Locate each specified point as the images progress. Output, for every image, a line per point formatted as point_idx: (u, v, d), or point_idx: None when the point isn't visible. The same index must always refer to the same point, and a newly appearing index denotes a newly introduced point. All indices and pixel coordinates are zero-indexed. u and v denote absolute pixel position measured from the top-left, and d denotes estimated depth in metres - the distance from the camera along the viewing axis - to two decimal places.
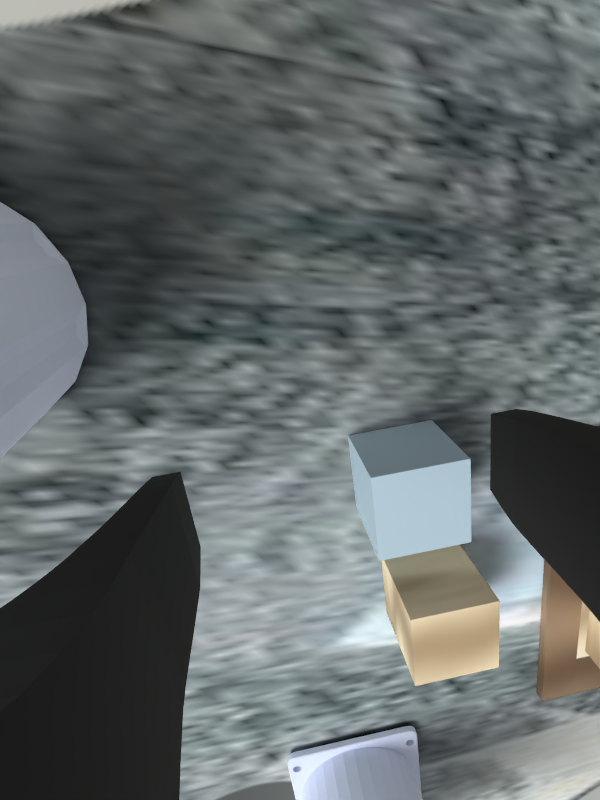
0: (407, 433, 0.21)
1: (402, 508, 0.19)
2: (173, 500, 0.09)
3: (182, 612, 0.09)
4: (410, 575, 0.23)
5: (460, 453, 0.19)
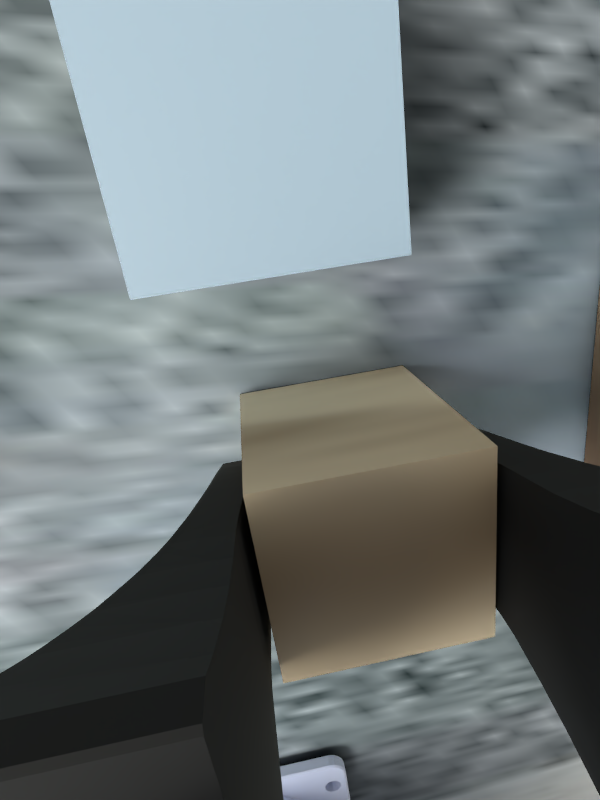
0: None
1: (176, 92, 0.06)
2: None
3: (263, 595, 0.09)
4: (284, 419, 0.10)
5: None
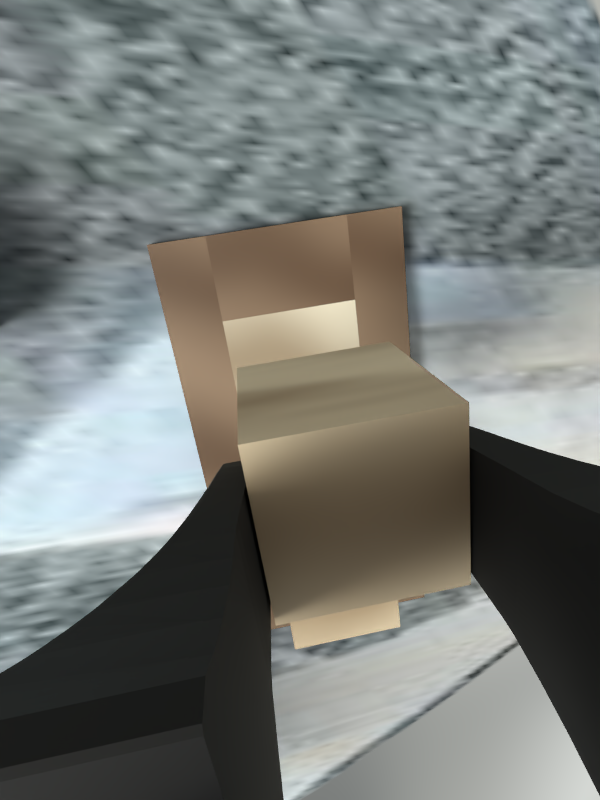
0: None
1: None
2: None
3: (263, 595, 0.09)
4: (276, 386, 0.10)
5: None
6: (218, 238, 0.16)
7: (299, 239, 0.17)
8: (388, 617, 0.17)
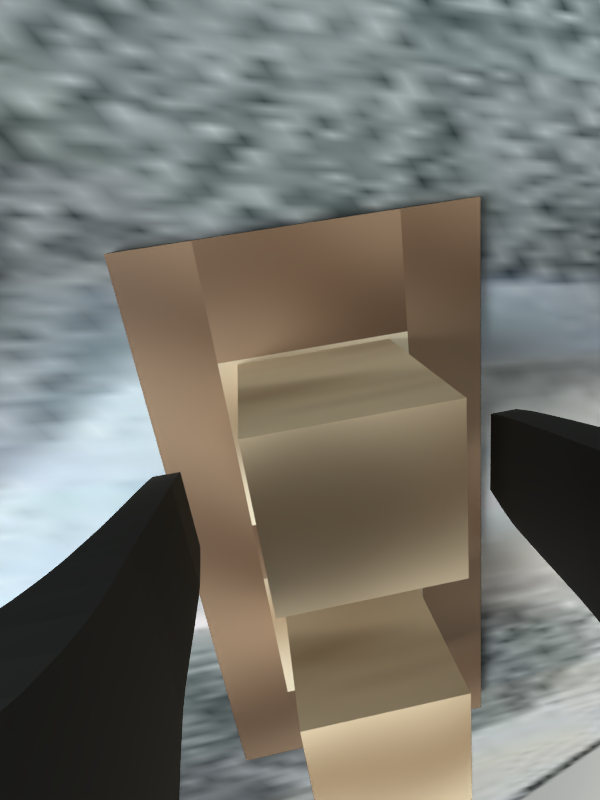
0: None
1: None
2: (173, 500, 0.09)
3: (182, 612, 0.09)
4: (277, 383, 0.10)
5: None
6: (211, 244, 0.11)
7: (329, 245, 0.12)
8: (456, 789, 0.12)
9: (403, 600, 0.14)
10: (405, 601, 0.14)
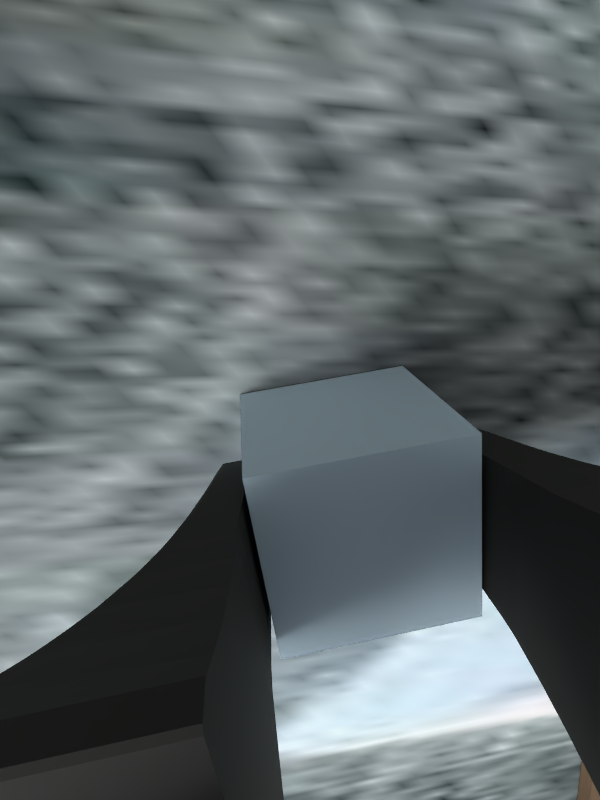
0: (352, 389, 0.11)
1: (327, 548, 0.08)
2: None
3: (263, 595, 0.09)
4: None
5: (458, 422, 0.08)
6: None
7: None
8: None
9: None
10: None
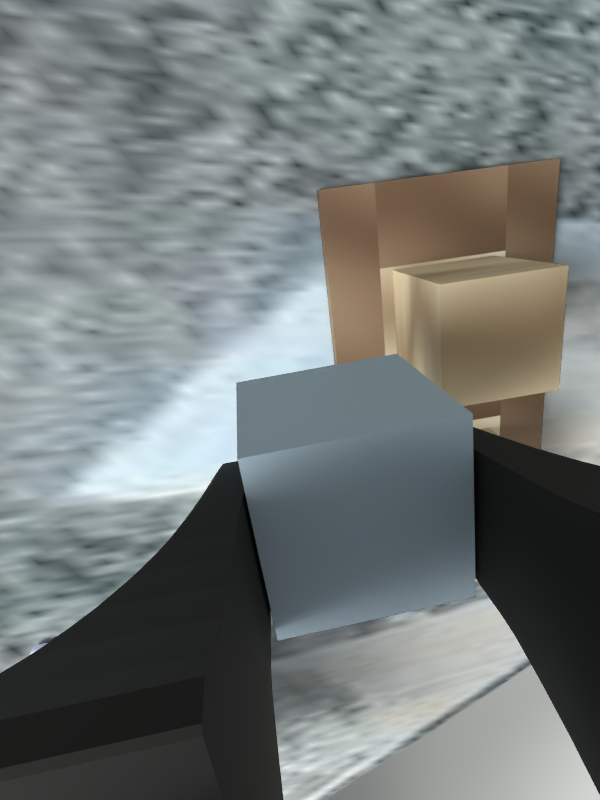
0: (347, 375, 0.11)
1: (321, 528, 0.08)
2: None
3: (263, 595, 0.09)
4: (434, 271, 0.16)
5: (449, 404, 0.08)
6: (386, 185, 0.17)
7: (459, 188, 0.17)
8: None
9: None
10: None
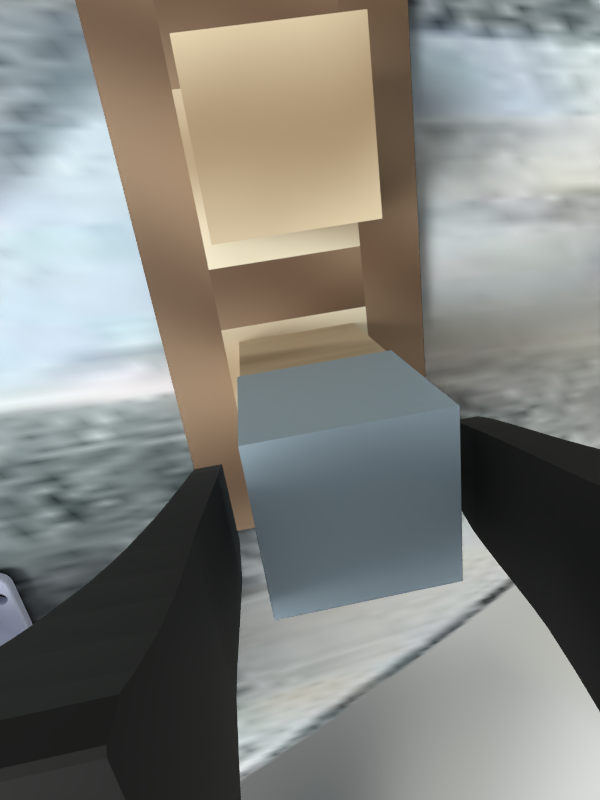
0: (343, 370, 0.11)
1: (317, 513, 0.09)
2: (219, 491, 0.09)
3: (231, 601, 0.09)
4: None
5: (438, 397, 0.09)
6: None
7: None
8: None
9: (346, 334, 0.15)
10: (348, 334, 0.15)
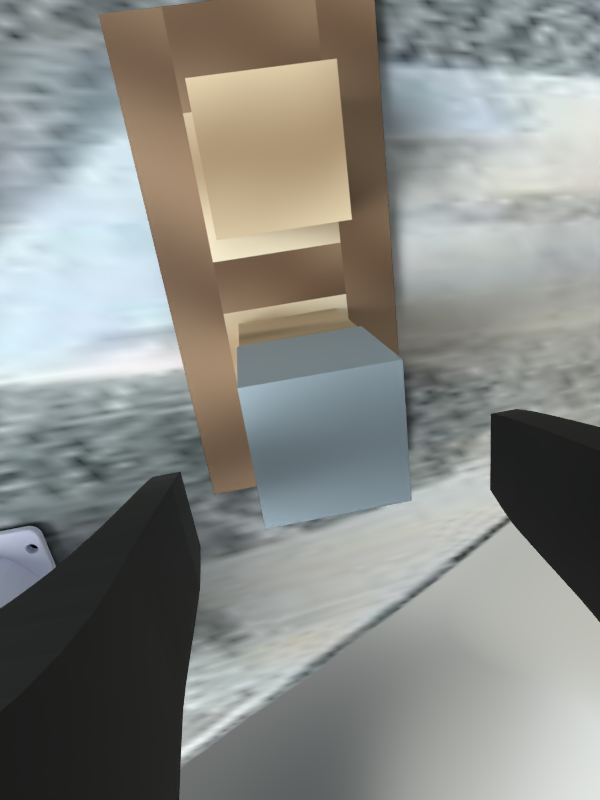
0: (320, 340, 0.14)
1: (296, 442, 0.12)
2: (173, 500, 0.09)
3: (182, 612, 0.09)
4: None
5: (389, 355, 0.12)
6: (175, 10, 0.15)
7: (263, 19, 0.16)
8: None
9: (328, 316, 0.18)
10: (329, 317, 0.18)
